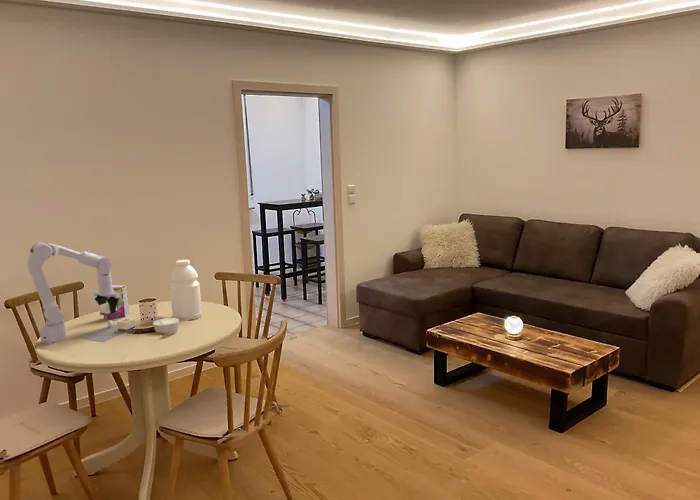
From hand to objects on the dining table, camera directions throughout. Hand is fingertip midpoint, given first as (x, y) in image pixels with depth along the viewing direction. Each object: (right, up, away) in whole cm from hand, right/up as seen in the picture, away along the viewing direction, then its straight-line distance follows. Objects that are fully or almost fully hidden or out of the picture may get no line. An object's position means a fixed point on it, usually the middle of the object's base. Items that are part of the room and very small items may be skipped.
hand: (108, 311), depth 260 cm
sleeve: (0, -1, 0) cm, 1 cm away
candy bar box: (-4, -6, +20) cm, 21 cm away
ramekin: (+28, -9, -3) cm, 29 cm away
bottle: (+31, -5, +19) cm, 36 cm away
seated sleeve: (+9, -8, -3) cm, 12 cm away
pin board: (+2, -10, -6) cm, 12 cm away
